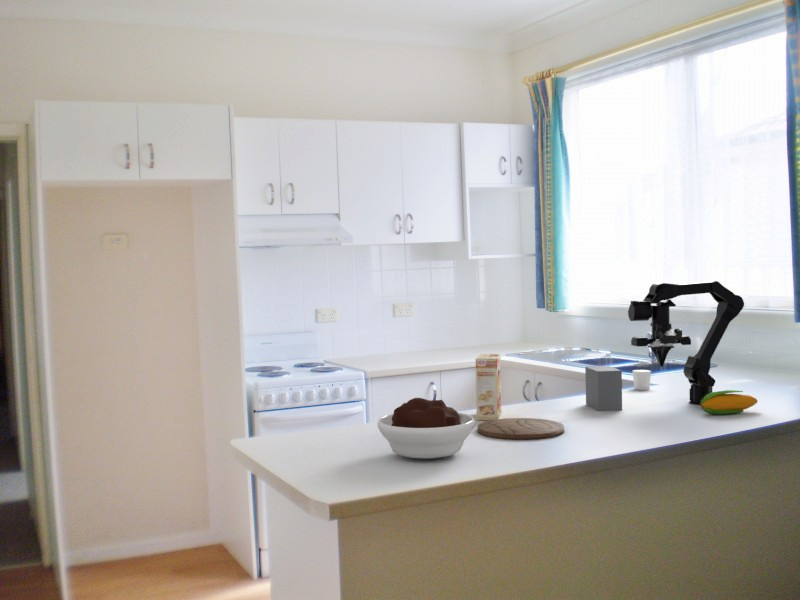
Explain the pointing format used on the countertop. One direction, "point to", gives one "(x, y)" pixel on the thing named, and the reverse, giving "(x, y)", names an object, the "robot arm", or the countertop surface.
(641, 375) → the shot glass
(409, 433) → the bowl of chocolate pudding
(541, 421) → the trivet
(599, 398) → the block
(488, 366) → the coffeecake box
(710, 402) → the corn
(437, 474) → the countertop surface
